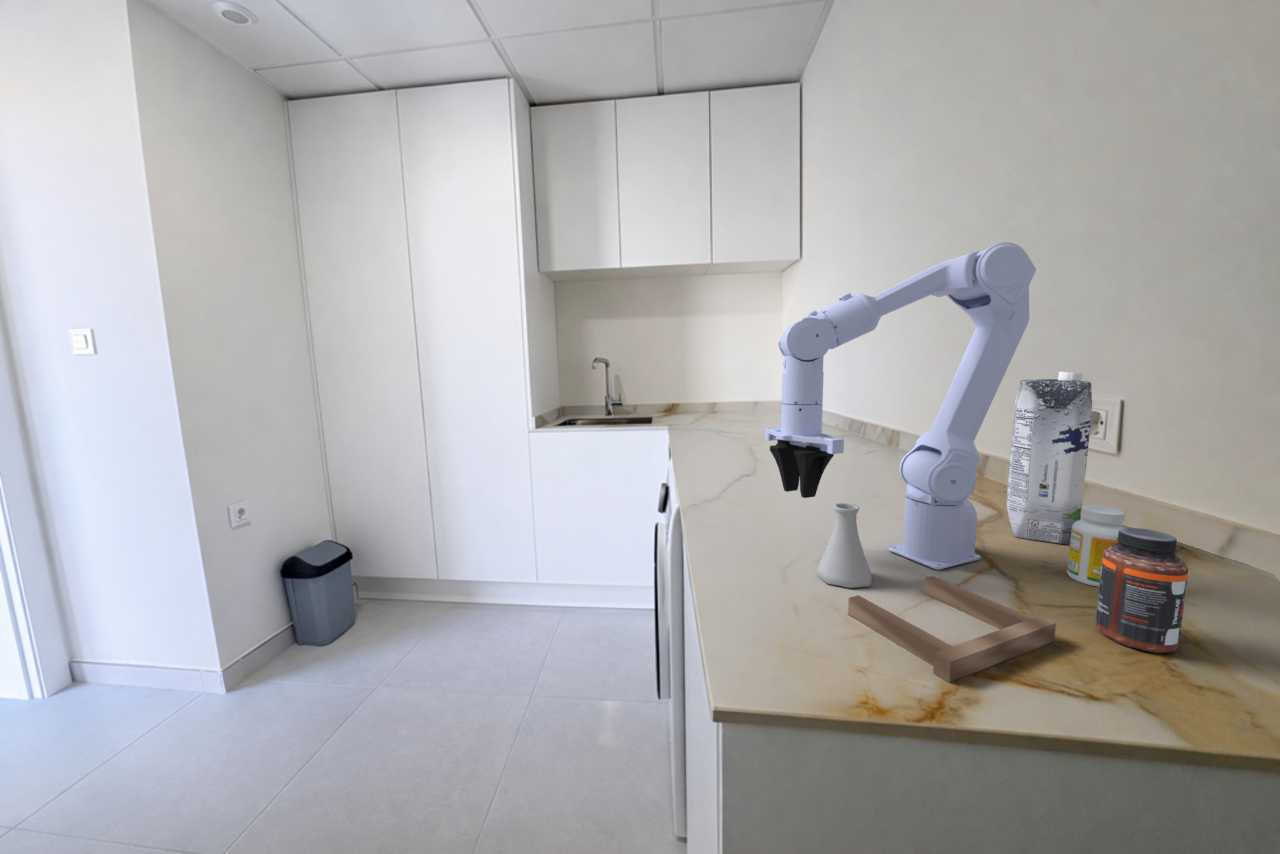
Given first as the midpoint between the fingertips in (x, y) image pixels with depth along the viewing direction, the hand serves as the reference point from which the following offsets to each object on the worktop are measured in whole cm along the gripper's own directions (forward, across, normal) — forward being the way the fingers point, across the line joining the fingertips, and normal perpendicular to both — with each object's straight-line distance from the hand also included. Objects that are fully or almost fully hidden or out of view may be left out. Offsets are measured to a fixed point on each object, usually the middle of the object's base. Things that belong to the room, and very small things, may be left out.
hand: (799, 493), depth 71 cm
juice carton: (+10, +10, +42) cm, 44 cm away
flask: (+10, +9, 0) cm, 13 cm away
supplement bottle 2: (+10, +32, +16) cm, 37 cm away
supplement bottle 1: (+10, +23, +29) cm, 38 cm away
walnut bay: (+9, +22, 0) cm, 24 cm away
